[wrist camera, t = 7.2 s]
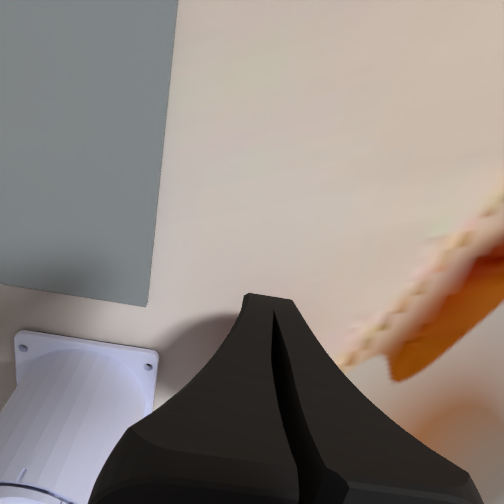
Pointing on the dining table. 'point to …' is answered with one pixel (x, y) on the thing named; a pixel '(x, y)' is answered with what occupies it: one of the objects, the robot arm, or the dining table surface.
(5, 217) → the slate mat
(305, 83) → the dining table surface
